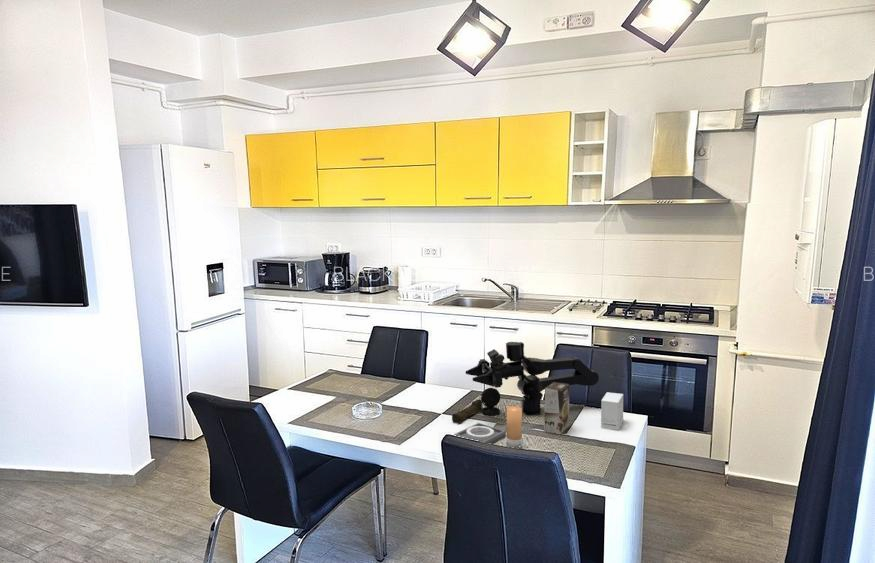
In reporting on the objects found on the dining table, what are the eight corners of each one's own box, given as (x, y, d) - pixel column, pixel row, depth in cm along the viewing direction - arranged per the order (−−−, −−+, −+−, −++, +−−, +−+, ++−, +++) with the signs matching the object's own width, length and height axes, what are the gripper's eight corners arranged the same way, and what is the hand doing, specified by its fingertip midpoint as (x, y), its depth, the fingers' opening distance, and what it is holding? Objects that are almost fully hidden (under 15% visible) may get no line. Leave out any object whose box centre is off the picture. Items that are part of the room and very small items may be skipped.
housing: (478, 427, 205) (478, 421, 205) (505, 436, 198) (505, 429, 197) (454, 439, 195) (453, 432, 195) (481, 449, 187) (481, 441, 187)
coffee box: (560, 435, 198) (561, 390, 196) (543, 431, 202) (544, 387, 200) (569, 426, 206) (570, 383, 204) (552, 423, 209) (553, 381, 207)
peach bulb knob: (519, 442, 192) (519, 405, 191) (523, 448, 187) (523, 410, 186) (505, 443, 192) (505, 406, 190) (508, 449, 187) (508, 411, 185)
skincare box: (605, 418, 214) (606, 391, 213) (623, 421, 211) (624, 393, 210) (599, 427, 205) (600, 399, 203) (618, 430, 202) (619, 402, 201)
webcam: (497, 408, 225) (497, 384, 224) (503, 415, 218) (503, 390, 217) (478, 410, 224) (478, 385, 223) (483, 416, 217) (483, 391, 215)
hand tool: (460, 425, 209) (460, 413, 208) (451, 422, 211) (451, 410, 211) (487, 410, 224) (487, 399, 223) (479, 408, 226) (479, 397, 226)
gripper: (498, 344, 224) (460, 349, 221) (515, 355, 206) (474, 361, 203) (500, 371, 226) (462, 376, 223) (517, 384, 208) (477, 391, 205)
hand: (469, 375), depth 213 cm, fingers open, 9 cm apart
